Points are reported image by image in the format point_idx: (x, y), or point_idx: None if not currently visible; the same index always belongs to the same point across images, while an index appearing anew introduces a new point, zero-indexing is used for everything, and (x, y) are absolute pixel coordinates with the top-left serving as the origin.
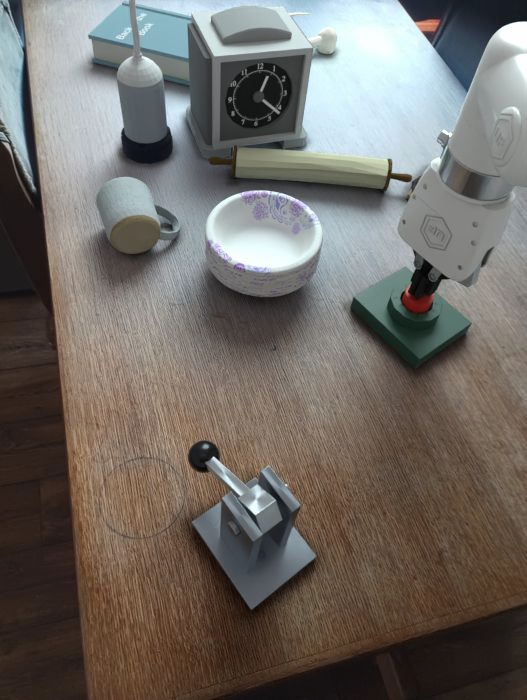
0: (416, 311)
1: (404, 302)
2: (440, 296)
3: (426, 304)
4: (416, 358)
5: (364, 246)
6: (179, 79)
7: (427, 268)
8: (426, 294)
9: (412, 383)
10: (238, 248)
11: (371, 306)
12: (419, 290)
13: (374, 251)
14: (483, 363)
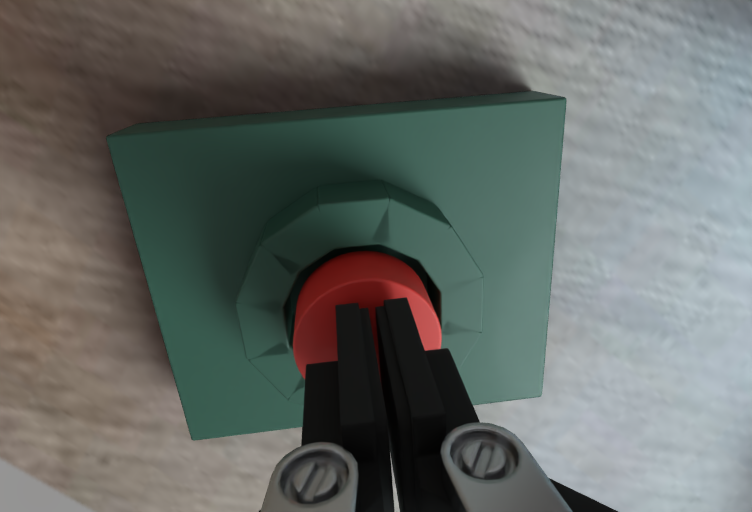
0: (313, 279)
1: (384, 260)
2: None
3: (296, 333)
4: (126, 132)
5: (700, 333)
6: None
7: (417, 487)
8: (318, 363)
9: (70, 63)
10: None
11: (474, 138)
12: (347, 342)
13: (660, 349)
14: (64, 371)
